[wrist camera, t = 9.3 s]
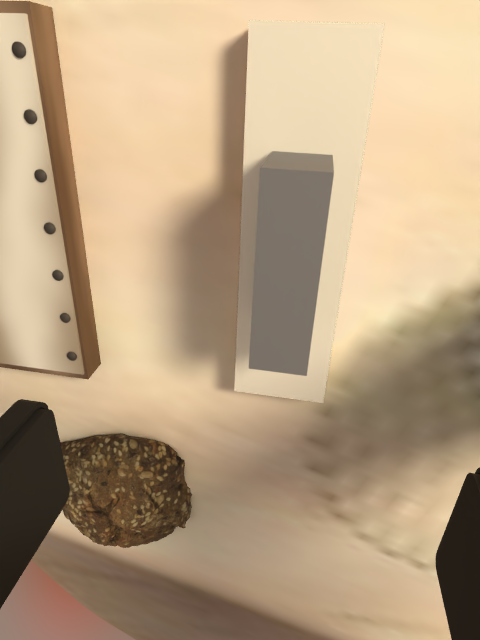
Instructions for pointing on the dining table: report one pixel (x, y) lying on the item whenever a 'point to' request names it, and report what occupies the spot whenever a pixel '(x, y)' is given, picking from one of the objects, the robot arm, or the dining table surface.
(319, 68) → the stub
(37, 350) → the light wooden flat board
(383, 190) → the dining table surface
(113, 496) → the bread roll
